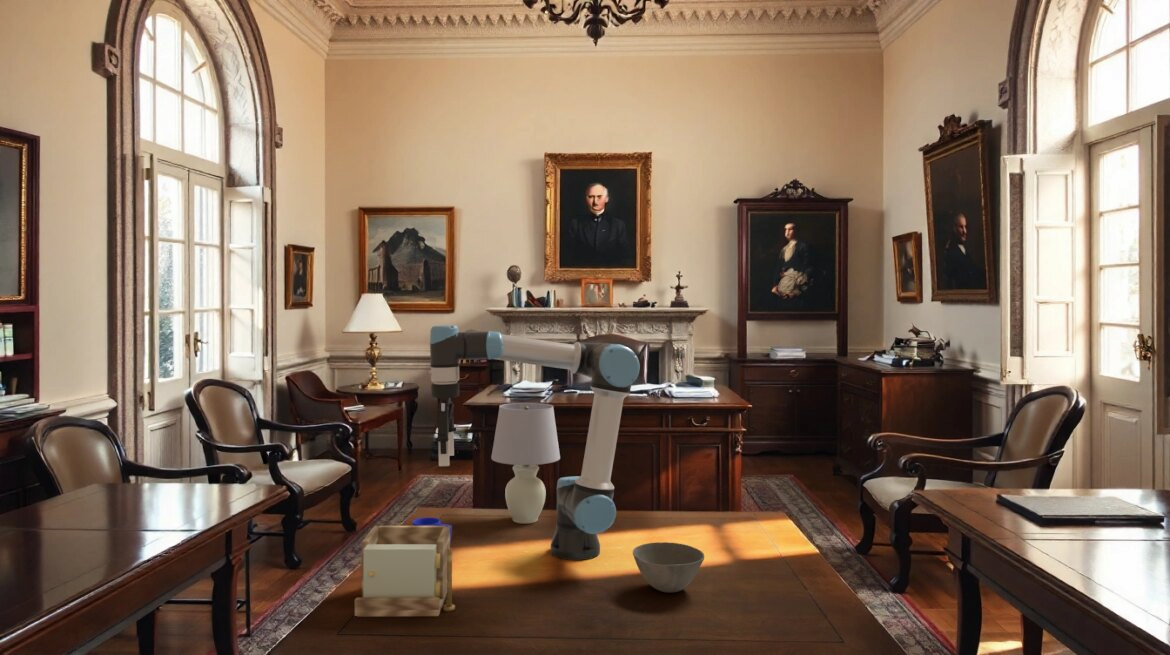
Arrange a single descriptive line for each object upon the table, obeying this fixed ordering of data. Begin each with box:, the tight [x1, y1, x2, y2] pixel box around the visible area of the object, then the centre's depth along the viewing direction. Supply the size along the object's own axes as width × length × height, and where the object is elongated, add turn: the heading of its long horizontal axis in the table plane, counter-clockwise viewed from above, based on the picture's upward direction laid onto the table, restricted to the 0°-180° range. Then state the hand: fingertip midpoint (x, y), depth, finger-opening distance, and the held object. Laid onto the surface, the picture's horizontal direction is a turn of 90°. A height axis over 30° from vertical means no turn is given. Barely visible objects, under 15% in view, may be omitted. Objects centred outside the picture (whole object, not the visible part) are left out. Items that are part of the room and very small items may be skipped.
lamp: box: [490, 402, 561, 525], centre depth 273 cm, size 24×24×40 cm
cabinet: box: [354, 525, 456, 617], centre depth 199 cm, size 23×21×16 cm
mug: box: [412, 517, 453, 542], centre depth 235 cm, size 8×12×10 cm
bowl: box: [632, 541, 705, 593], centre depth 208 cm, size 19×19×10 cm
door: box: [363, 544, 440, 598], centre depth 192 cm, size 18×5×14 cm, turn 93°
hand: (446, 460), depth 212 cm, fingers open, 13 cm apart
